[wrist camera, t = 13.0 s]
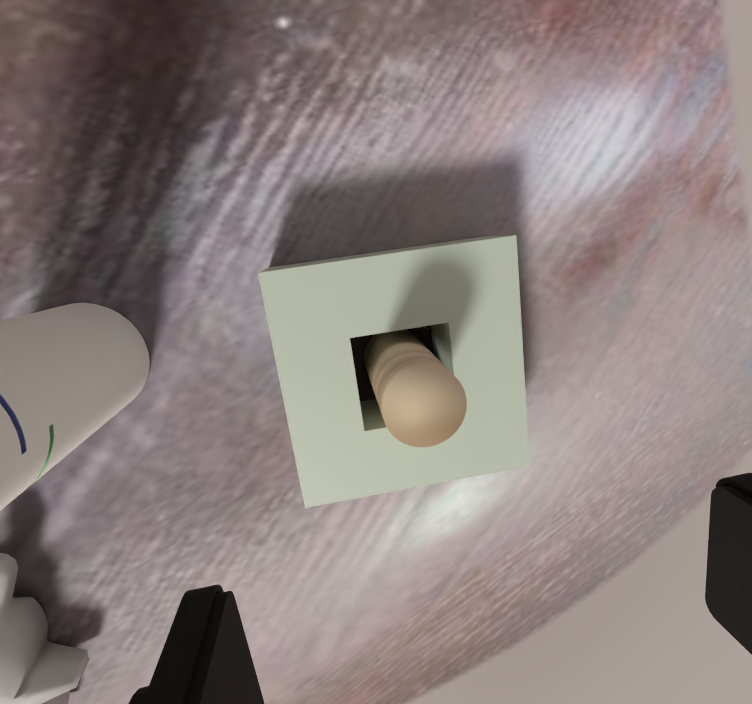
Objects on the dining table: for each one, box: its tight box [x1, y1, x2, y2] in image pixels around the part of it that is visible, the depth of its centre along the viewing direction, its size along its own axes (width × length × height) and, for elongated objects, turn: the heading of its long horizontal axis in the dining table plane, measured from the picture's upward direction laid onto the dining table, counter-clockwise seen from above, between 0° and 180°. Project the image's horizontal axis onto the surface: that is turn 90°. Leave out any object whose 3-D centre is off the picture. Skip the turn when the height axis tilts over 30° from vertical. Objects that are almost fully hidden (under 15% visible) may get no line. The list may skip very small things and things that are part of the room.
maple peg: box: [364, 329, 467, 447], centre depth 26 cm, size 4×4×10 cm
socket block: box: [258, 235, 530, 508], centre depth 28 cm, size 14×14×5 cm
